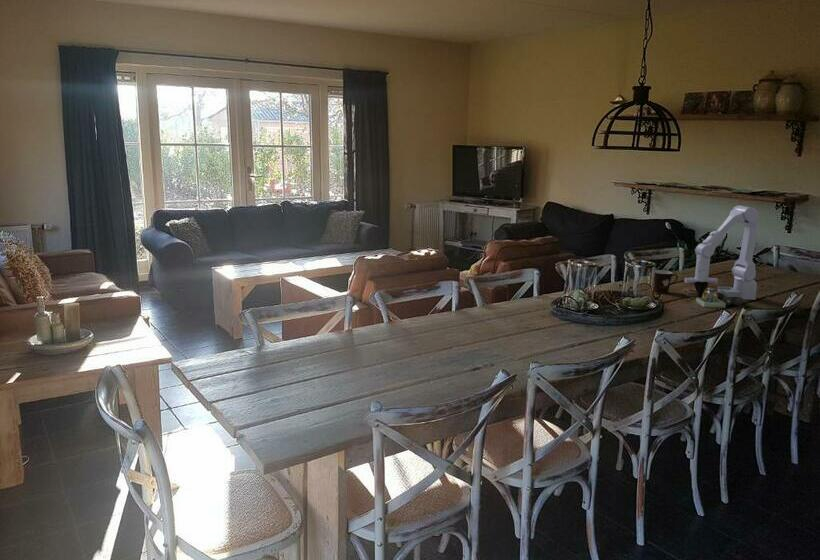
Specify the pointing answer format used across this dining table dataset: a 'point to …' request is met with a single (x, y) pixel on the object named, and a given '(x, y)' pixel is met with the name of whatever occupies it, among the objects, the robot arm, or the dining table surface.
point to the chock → (707, 295)
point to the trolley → (729, 295)
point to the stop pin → (710, 295)
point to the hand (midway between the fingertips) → (699, 297)
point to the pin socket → (690, 292)
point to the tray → (716, 303)
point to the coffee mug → (663, 281)
